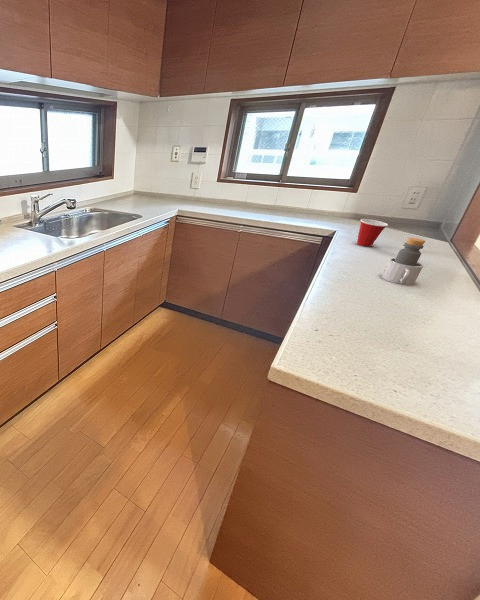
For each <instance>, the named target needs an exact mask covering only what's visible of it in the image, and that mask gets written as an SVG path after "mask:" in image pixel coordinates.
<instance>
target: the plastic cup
mask: <svg viewBox="0 0 480 600" xmlns="http://www.w3.org/2000/svg"><path fill="white" fill-rule="evenodd" d="M388 226H389V224H388V223H386V222H384V221H380V220H376V219H369V218H360V225H359V229H358V235H357V239H356V244H357V245H358V246H361V247H365V248H367V247H368V248H370V247H372V246H373V245H374V243H375V242H376V240H377V239H378V238H379V236H380V235H381V233H382V232H383V231H384V229H385V228H387V227H388Z"/></svg>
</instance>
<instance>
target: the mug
mask: <svg viewBox="0 0 480 600" xmlns="http://www.w3.org/2000/svg"><path fill="white" fill-rule="evenodd" d="M395 259H396V257H392V258H389V259H388V262H387V263H386V266H385V268H384V270H383V273H382V274H381V278H382V280H383V279H384V280H385V281H388V282H390V283H394V284H397V285H398V284H400V285H405V286H406V285H407V286H411V285H412V286H413V285H414V284H415V283H416V281H417V279H418V278H419V275H420V274H421V271H422V270H423V268H424V264H423V263H421V262H419V261H418V262H417V264H416V265H415V266H408V265H403V264H399V263H396V262H394V261H395Z"/></svg>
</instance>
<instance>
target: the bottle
mask: <svg viewBox="0 0 480 600" xmlns="http://www.w3.org/2000/svg"><path fill="white" fill-rule="evenodd" d="M425 243H426V240H425V239H422V238H417V237H407V239H406V242H404V243H403V248H400V249H399V250H398V252H397V255H396V257H395V258H396V259H395V261H394V262H396V263H399V264H403V265H408V266H415V265H416V264H417V262H419V260H420V258H421V256H422V252H421V251H420V250H422V249H423V248H424V247H425V246H424V244H425ZM423 250H424V249H423Z"/></svg>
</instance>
